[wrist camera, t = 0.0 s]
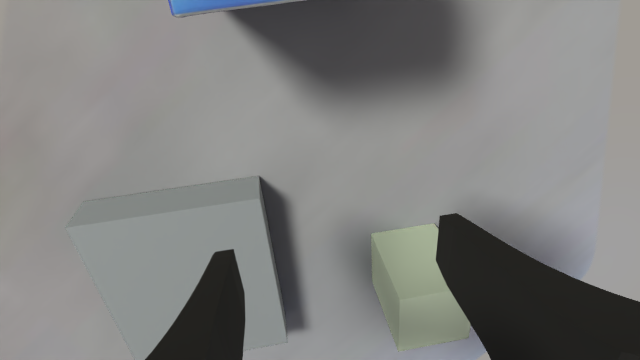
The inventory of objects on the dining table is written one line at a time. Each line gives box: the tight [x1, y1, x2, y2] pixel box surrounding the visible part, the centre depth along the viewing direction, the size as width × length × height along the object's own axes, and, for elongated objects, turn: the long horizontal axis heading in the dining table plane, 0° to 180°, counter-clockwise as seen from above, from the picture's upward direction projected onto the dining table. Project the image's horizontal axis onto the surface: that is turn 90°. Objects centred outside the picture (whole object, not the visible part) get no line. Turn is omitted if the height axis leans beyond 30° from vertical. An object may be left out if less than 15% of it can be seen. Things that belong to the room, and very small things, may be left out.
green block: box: [371, 224, 471, 352], centre depth 25 cm, size 4×4×6 cm
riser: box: [65, 176, 288, 360], centre depth 24 cm, size 12×10×2 cm
